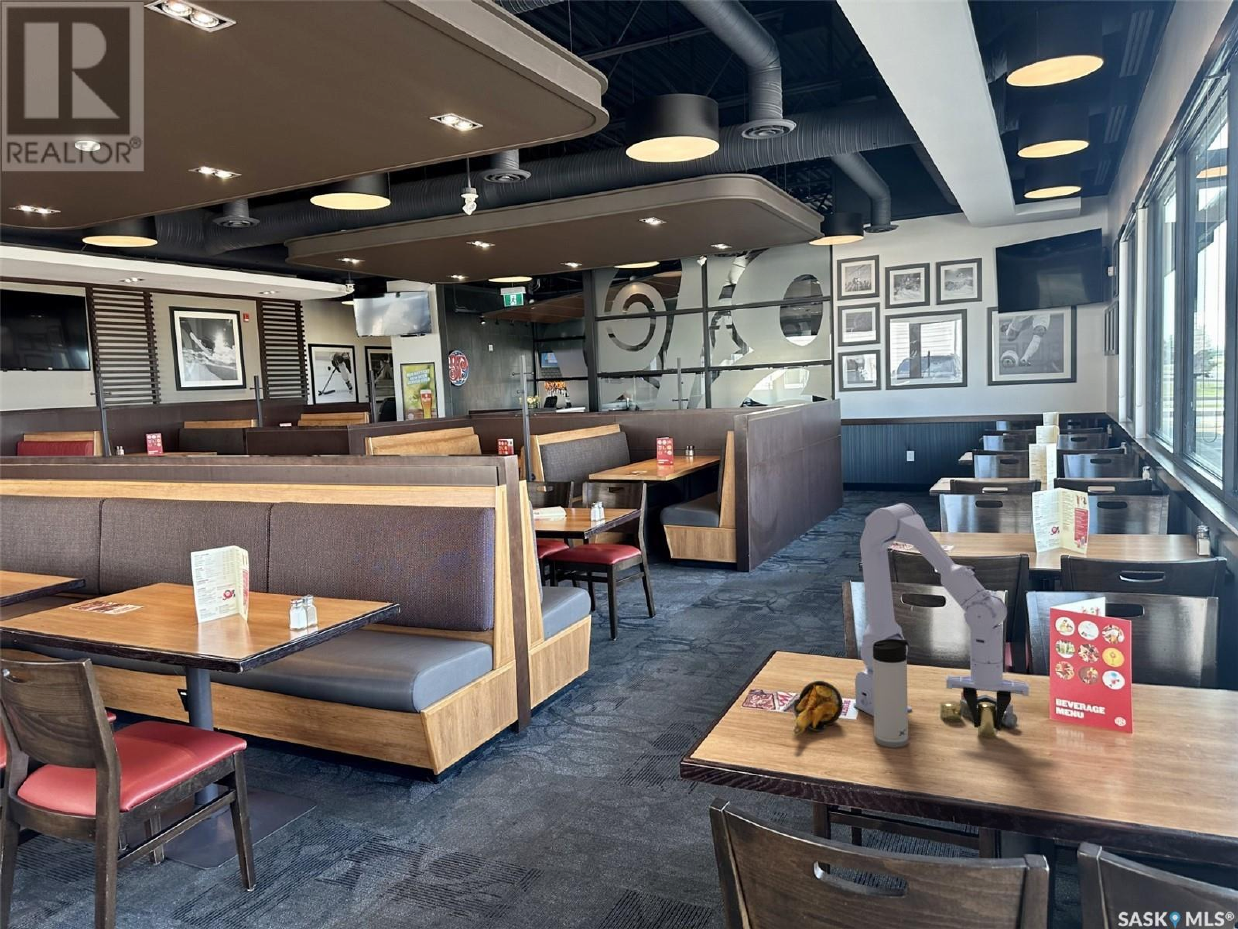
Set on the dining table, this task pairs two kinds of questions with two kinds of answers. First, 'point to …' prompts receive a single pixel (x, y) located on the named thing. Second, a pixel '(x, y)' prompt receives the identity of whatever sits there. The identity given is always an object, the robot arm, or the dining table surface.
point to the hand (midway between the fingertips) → (987, 727)
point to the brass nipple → (986, 720)
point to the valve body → (1008, 717)
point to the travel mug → (890, 693)
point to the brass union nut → (950, 711)
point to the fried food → (817, 707)
